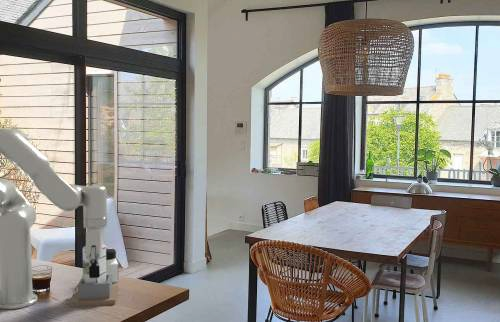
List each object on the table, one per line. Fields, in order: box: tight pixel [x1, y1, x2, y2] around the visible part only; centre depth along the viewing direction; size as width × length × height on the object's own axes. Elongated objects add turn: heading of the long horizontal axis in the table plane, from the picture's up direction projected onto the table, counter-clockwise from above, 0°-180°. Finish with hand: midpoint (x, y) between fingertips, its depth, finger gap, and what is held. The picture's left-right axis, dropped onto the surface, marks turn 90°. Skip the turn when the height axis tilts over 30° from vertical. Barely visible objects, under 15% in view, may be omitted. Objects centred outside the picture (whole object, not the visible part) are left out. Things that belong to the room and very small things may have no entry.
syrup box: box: [82, 244, 107, 283], centre depth 167 cm, size 6×6×14 cm
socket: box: [70, 274, 120, 307], centre depth 168 cm, size 14×14×6 cm
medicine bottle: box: [106, 247, 119, 284], centre depth 187 cm, size 7×7×12 cm
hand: (96, 273), depth 168 cm, fingers closed on syrup box, 7 cm apart
